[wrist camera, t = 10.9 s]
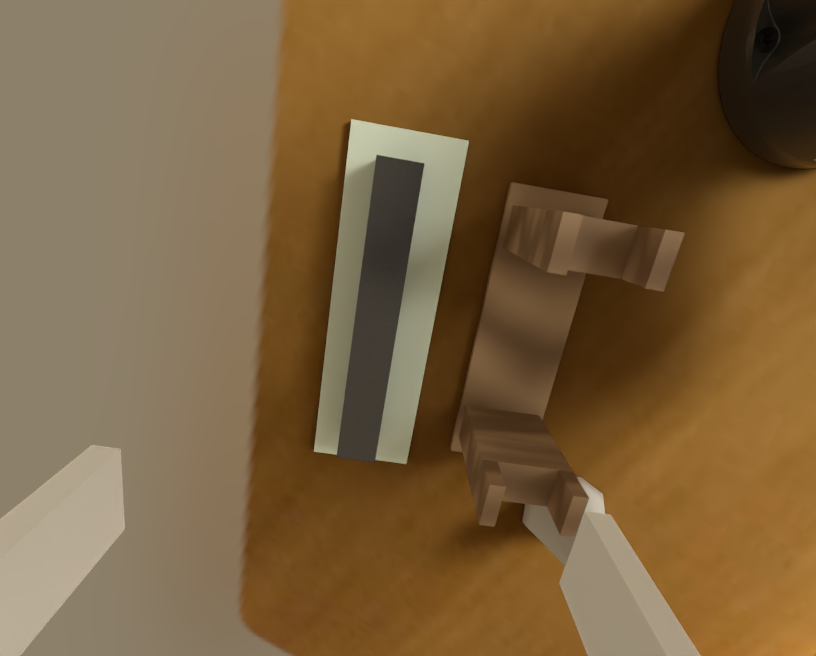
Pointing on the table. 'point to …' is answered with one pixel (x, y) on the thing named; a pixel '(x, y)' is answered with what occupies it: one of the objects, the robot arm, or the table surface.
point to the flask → (545, 527)
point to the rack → (540, 342)
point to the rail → (378, 303)
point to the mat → (420, 283)
